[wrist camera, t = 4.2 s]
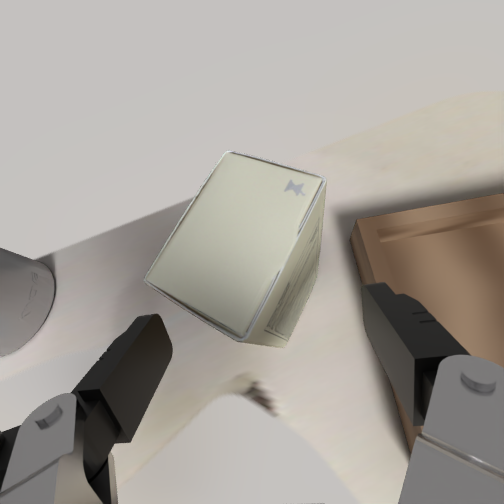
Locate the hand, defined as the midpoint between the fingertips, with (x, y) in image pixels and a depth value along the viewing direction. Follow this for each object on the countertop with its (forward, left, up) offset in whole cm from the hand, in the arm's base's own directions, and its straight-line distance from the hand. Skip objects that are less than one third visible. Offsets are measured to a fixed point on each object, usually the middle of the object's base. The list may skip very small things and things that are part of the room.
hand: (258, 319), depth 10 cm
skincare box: (0, +3, -10) cm, 10 cm away
